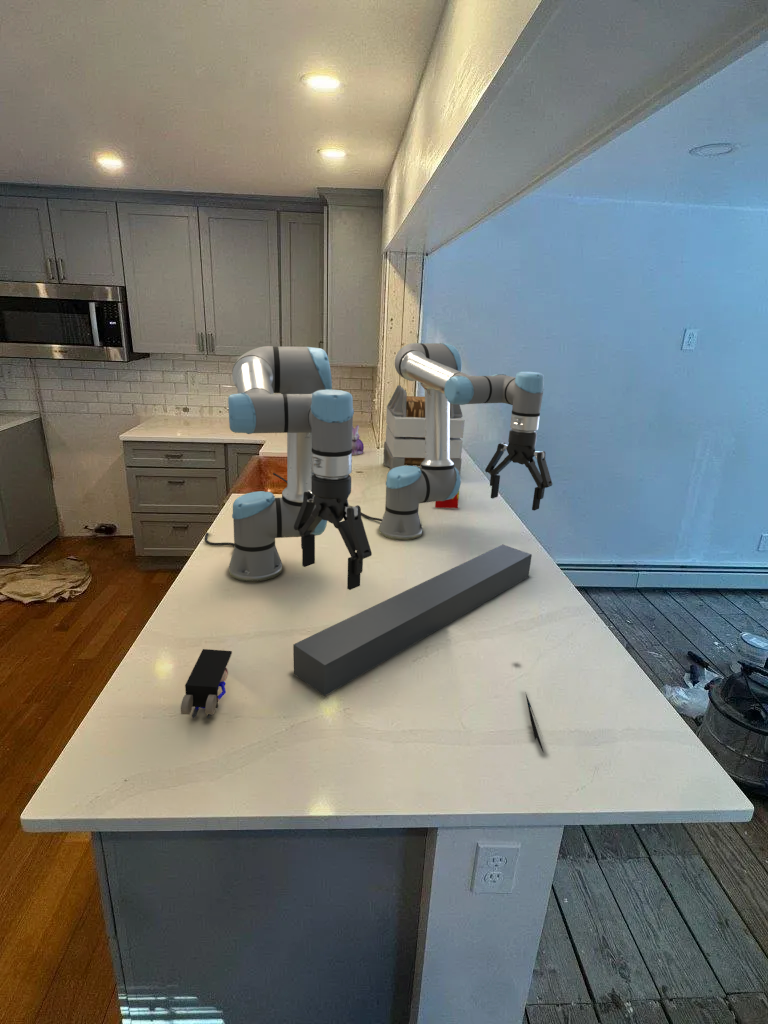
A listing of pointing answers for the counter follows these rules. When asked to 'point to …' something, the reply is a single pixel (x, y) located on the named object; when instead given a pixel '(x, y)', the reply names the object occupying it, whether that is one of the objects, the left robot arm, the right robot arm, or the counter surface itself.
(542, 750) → the feather
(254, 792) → the counter surface
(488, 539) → the counter surface
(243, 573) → the left robot arm
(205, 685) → the black toy cart
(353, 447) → the figurine
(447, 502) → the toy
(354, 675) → the dark gray long bar
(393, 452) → the grey slatted crate
